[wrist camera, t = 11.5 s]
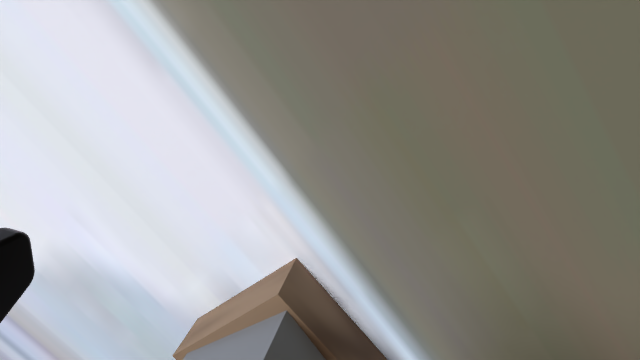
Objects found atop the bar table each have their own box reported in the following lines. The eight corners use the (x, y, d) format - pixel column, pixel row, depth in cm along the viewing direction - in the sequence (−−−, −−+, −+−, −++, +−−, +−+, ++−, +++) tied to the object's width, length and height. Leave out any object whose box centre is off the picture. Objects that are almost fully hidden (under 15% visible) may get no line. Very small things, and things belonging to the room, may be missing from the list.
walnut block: (393, 359, 26) (384, 410, 23) (289, 405, 29) (271, 454, 26) (298, 253, 24) (277, 294, 22) (200, 313, 28) (172, 355, 25)
